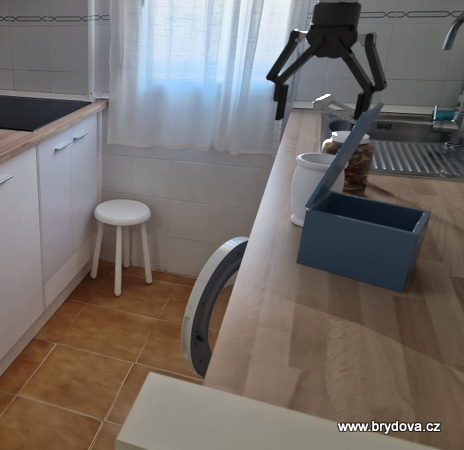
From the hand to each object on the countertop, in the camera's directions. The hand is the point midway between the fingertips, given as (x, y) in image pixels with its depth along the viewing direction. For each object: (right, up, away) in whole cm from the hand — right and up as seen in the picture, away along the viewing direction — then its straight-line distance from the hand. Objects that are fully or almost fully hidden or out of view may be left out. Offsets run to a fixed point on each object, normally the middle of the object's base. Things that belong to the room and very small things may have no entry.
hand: (315, 124), depth 101 cm
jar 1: (+9, -18, +22) cm, 30 cm away
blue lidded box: (+9, -26, +3) cm, 28 cm away
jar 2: (+25, -10, +41) cm, 49 cm away
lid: (+5, -6, -2) cm, 8 cm away
